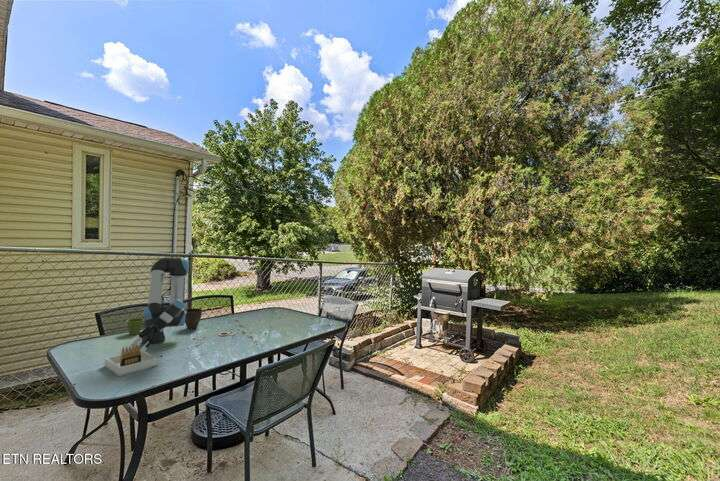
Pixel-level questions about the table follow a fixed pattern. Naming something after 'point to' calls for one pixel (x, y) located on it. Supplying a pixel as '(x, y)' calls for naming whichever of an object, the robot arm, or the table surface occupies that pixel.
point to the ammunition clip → (130, 356)
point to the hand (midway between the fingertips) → (136, 349)
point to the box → (145, 363)
